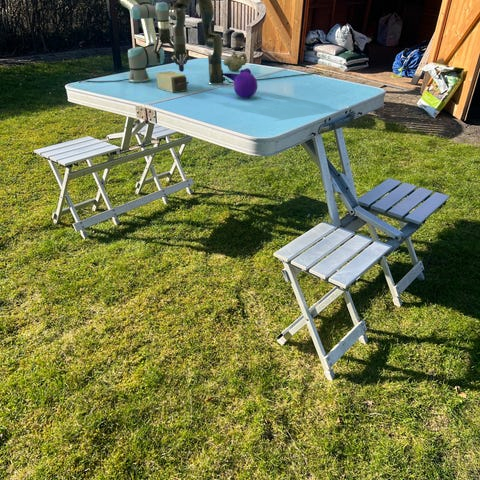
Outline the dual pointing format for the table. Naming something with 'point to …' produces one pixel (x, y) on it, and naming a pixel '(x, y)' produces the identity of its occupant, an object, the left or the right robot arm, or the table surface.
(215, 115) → the table surface
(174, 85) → the drawer
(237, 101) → the table surface
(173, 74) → the tan cardboard carton
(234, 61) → the teapot
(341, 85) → the table surface
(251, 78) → the toy
